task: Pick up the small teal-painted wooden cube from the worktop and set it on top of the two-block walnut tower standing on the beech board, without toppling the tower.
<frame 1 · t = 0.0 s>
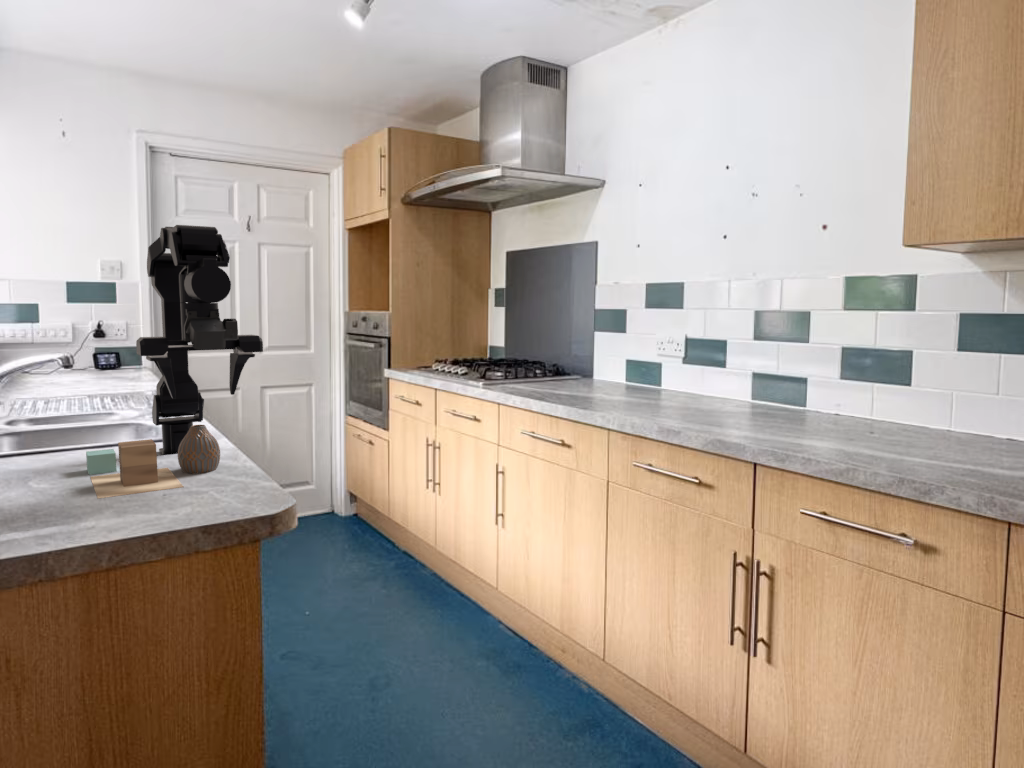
hand: (203, 396, 118), 15 cm above the worktop, fingers open, 9 cm apart
cube: (102, 475, 124), on the worktop
vase: (200, 475, 125), on the worktop
tower top: (138, 462, 117), point 4 cm above the worktop, touching tower base
tower base: (139, 481, 117), point 1 cm above the worktop, touching beech board, tower top
beech board: (136, 486, 117), on the worktop
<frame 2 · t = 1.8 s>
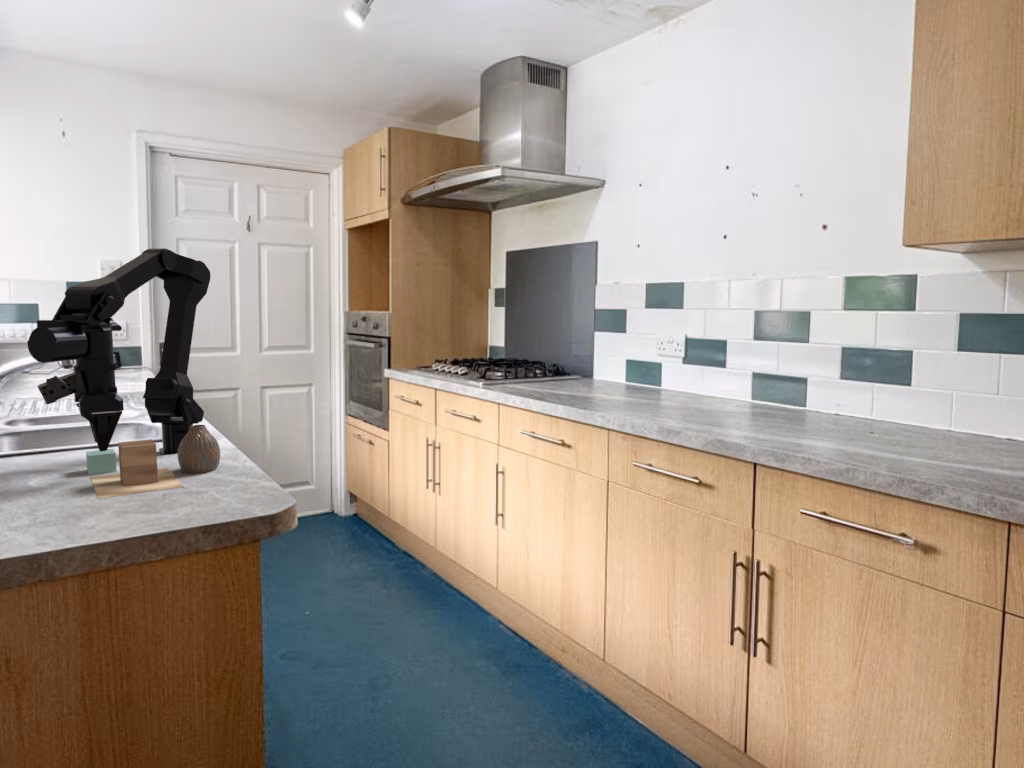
hand: (100, 446, 124), 5 cm above the worktop, fingers open, 9 cm apart
nothing on the worktop moved.
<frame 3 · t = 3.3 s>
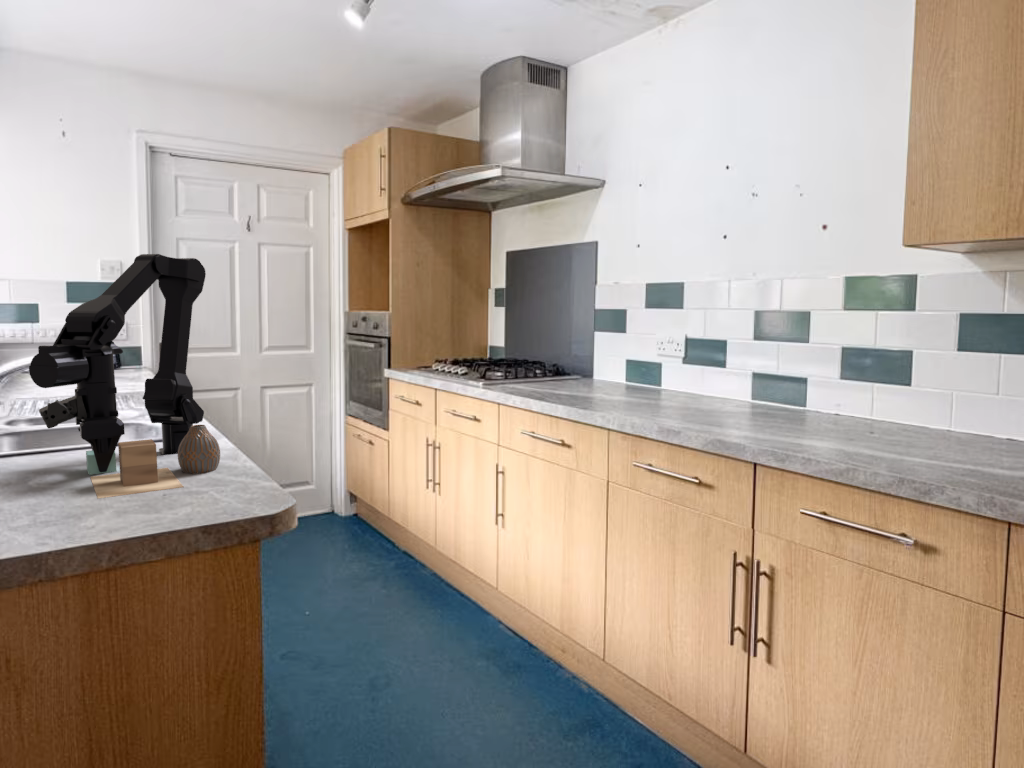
hand: (101, 469, 124), 1 cm above the worktop, fingers closed on cube, 4 cm apart
cube: (102, 475, 124), on the worktop, touching gripper
everything else where it was.
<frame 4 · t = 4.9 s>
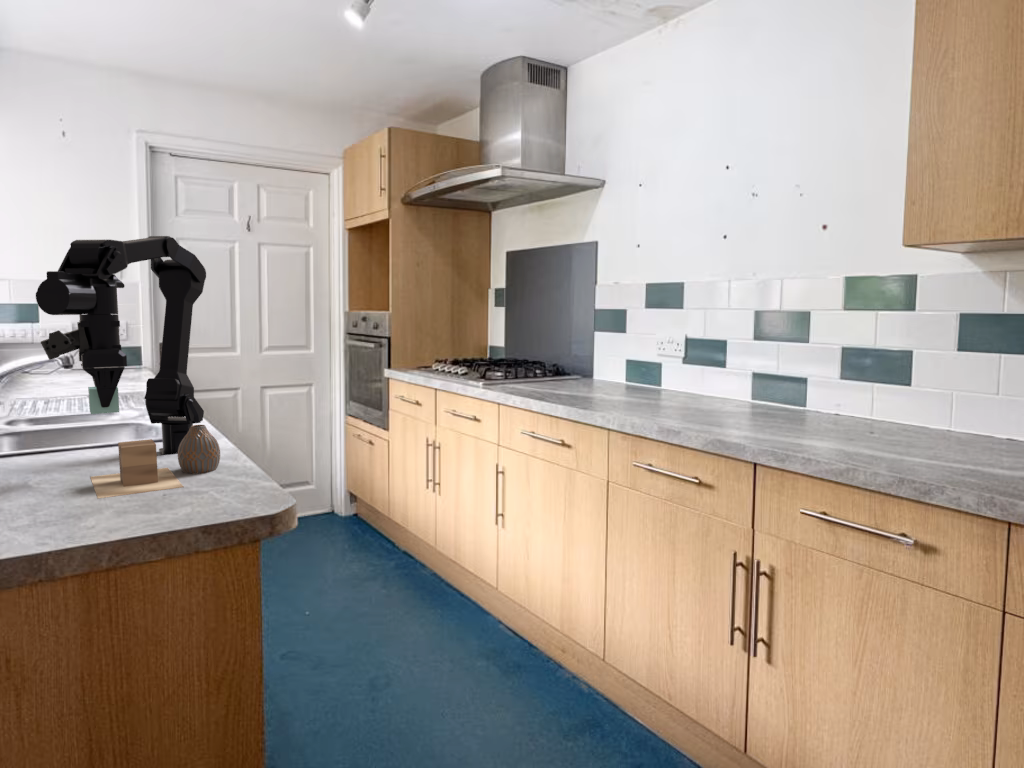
hand: (104, 405, 121), 13 cm above the worktop, fingers closed on cube, 4 cm apart
cube: (104, 411, 121), point 12 cm above the worktop, touching gripper
everything else where it was.
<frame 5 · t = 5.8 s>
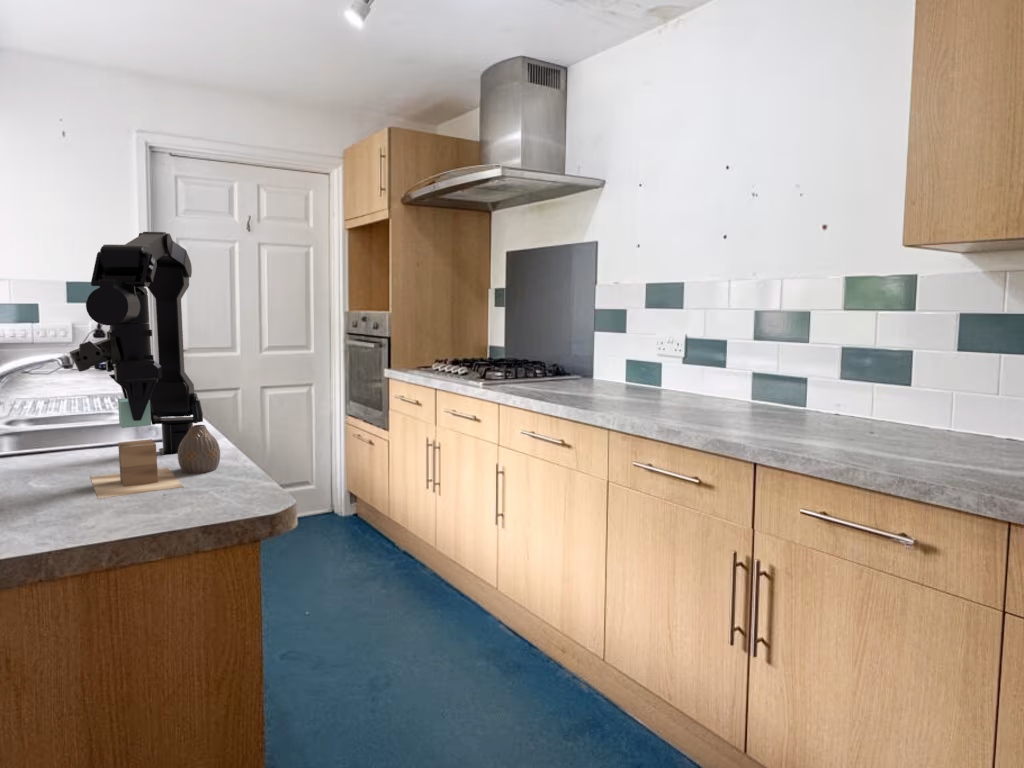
hand: (135, 418, 116), 11 cm above the worktop, fingers closed on cube, 4 cm apart
cube: (135, 424, 116), point 10 cm above the worktop, touching gripper
everything else where it was.
when the fingers open (9 cm above the worktop, at t = 6.5 s): cube stays where it is, resting on tower top.
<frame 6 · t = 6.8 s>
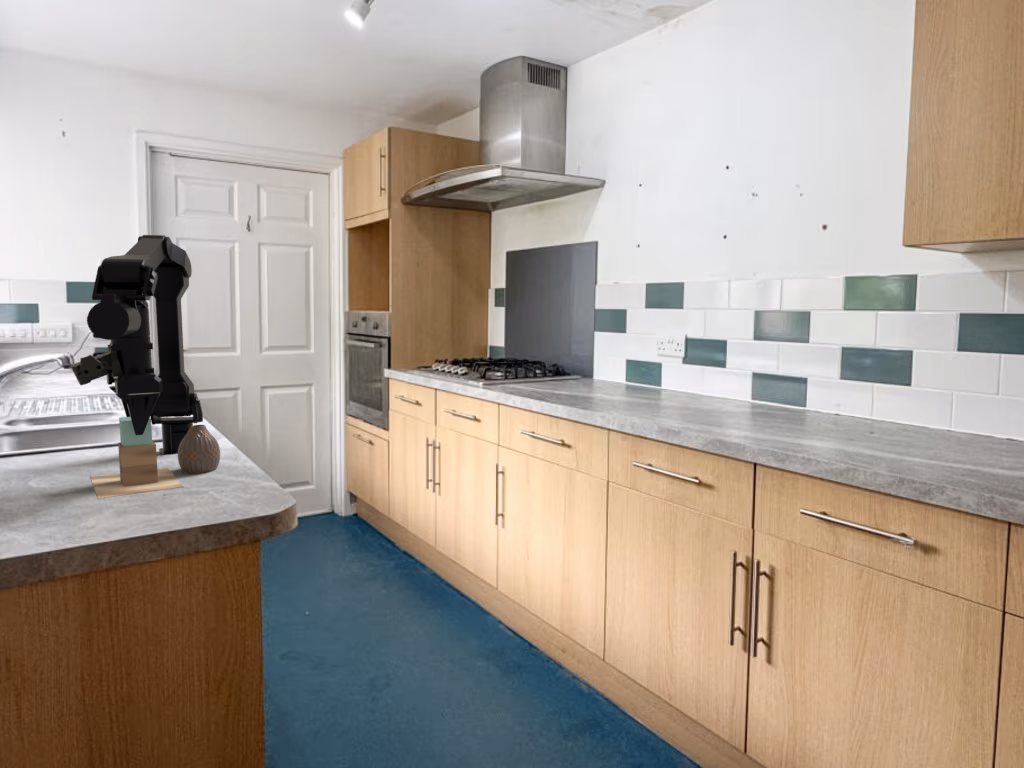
hand: (136, 431, 116), 9 cm above the worktop, fingers open, 7 cm apart
cube: (136, 443, 116), point 7 cm above the worktop, touching tower top
tower top: (138, 462, 117), point 4 cm above the worktop, touching cube, tower base
everything else where it was.
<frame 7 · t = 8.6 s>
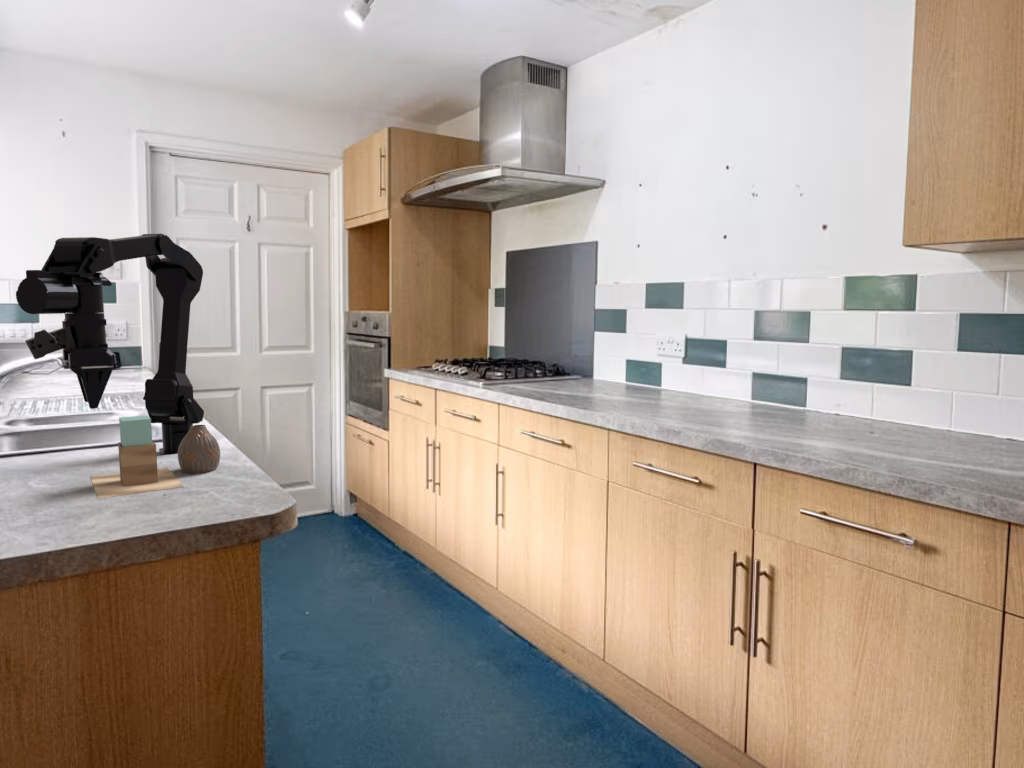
hand: (91, 404, 120), 13 cm above the worktop, fingers open, 9 cm apart
nothing on the worktop moved.
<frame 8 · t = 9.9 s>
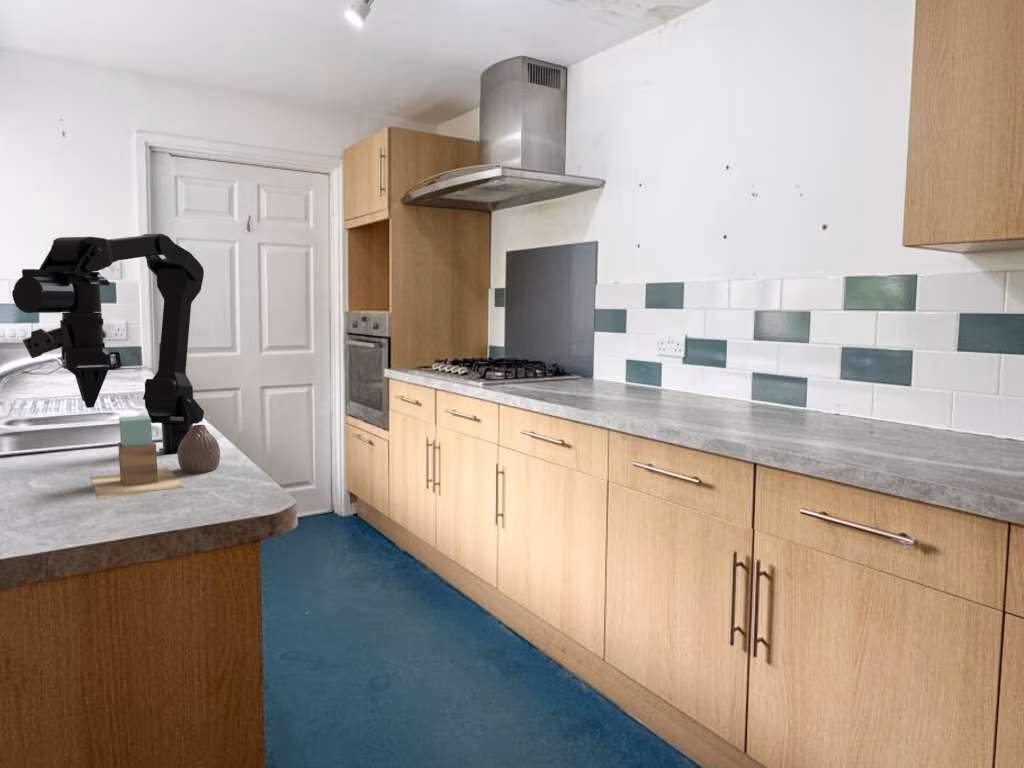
hand: (88, 404, 120), 13 cm above the worktop, fingers open, 9 cm apart
nothing on the worktop moved.
at the end: cube 0.1 cm off-centre on the tower top, point 3.2 cm above the tower top's base; tower top tilted 0°; cube tilted 0° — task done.
